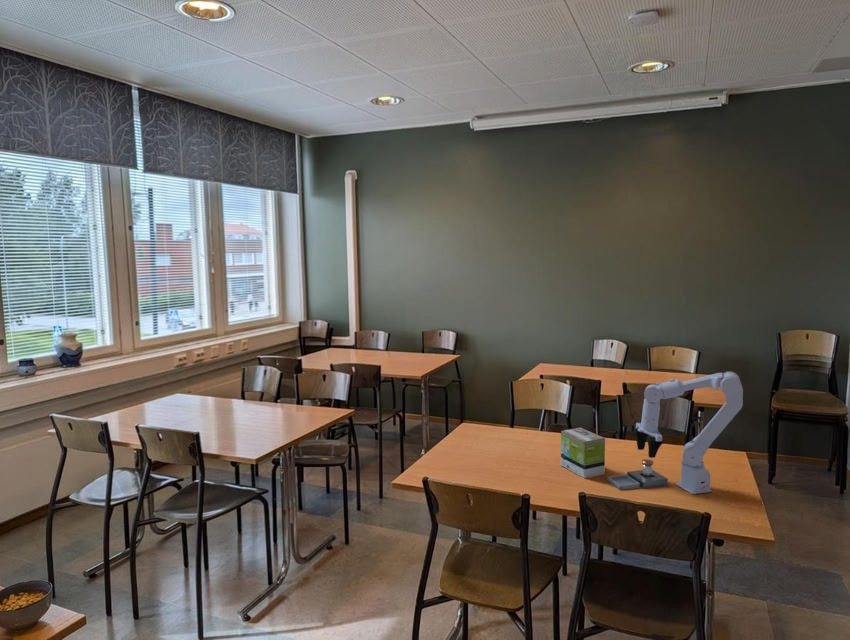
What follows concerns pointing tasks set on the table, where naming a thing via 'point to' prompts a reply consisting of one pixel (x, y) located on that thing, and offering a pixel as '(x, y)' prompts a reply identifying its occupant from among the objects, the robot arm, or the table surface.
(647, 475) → the pin
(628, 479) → the tray
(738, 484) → the table surface
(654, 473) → the hitch block
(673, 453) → the table surface
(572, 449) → the tea box
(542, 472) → the table surface
